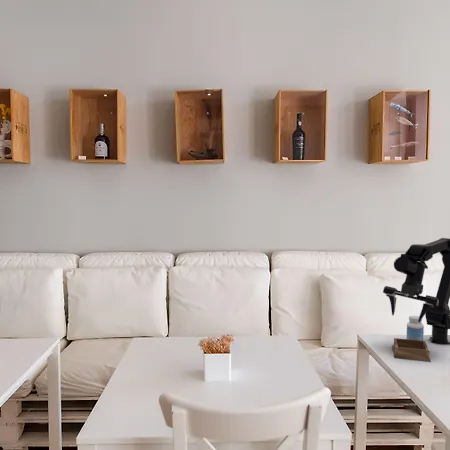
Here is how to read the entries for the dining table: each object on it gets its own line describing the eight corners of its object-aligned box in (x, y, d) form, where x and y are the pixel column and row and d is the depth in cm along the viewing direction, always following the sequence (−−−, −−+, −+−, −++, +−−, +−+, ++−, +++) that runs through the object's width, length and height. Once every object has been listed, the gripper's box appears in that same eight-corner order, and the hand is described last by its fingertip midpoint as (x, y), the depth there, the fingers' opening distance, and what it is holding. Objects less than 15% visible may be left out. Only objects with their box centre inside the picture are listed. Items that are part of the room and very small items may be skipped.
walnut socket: (392, 347, 169) (392, 337, 169) (426, 350, 165) (426, 340, 165) (394, 358, 158) (394, 347, 157) (430, 361, 154) (430, 351, 154)
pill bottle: (425, 348, 168) (426, 319, 167) (409, 347, 168) (410, 319, 168) (419, 342, 174) (420, 315, 173) (403, 342, 174) (404, 315, 174)
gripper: (384, 269, 162) (375, 310, 160) (439, 280, 152) (430, 324, 150) (390, 273, 171) (381, 312, 169) (442, 284, 161) (433, 326, 159)
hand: (405, 318), depth 162 cm, fingers open, 9 cm apart
